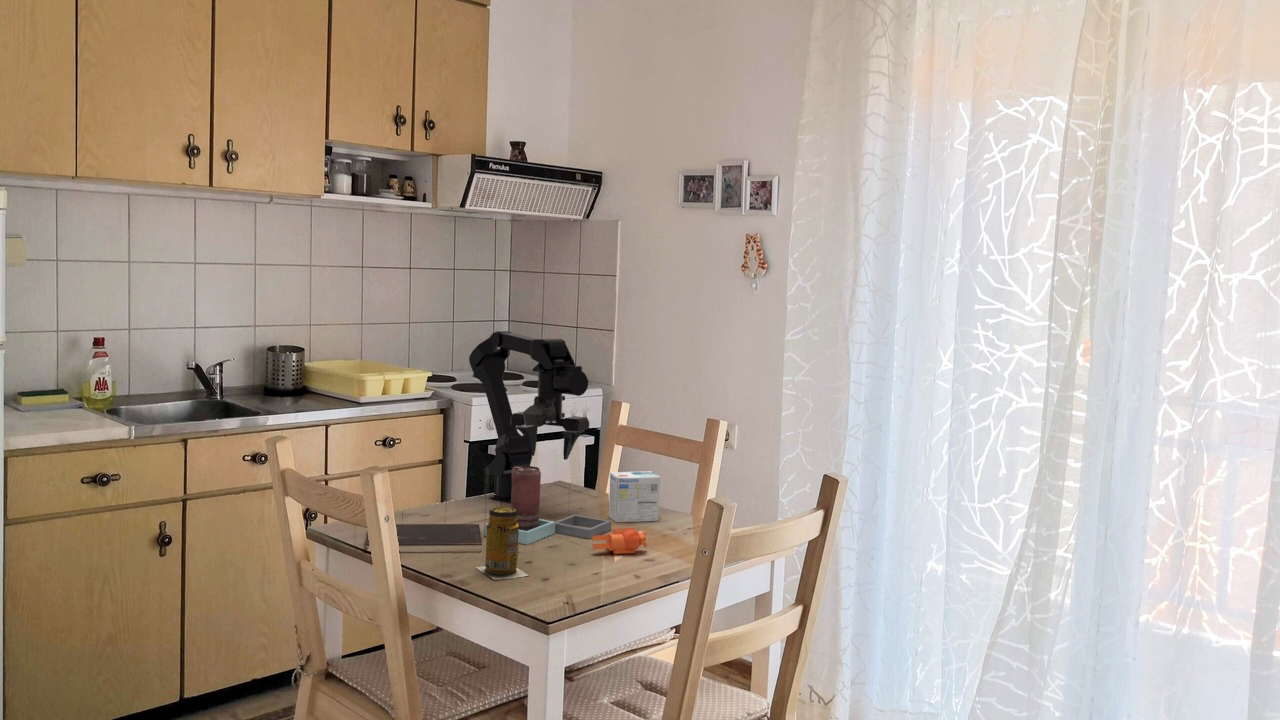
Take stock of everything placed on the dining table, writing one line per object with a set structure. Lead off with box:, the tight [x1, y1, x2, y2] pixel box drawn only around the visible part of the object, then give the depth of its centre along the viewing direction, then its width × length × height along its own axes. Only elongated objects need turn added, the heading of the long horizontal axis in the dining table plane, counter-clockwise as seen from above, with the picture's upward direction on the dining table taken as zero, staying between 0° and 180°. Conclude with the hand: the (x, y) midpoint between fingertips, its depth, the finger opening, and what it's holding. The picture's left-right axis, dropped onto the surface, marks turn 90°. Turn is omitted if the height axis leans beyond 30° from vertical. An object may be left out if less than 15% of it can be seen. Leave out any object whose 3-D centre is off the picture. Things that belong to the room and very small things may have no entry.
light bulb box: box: [608, 470, 661, 523], centre depth 240 cm, size 11×7×11 cm, turn 108°
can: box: [510, 465, 542, 531], centre depth 221 cm, size 6×6×14 cm
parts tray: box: [483, 518, 556, 546], centre depth 221 cm, size 11×11×3 cm
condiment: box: [475, 506, 530, 581], centre depth 194 cm, size 7×8×12 cm
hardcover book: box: [364, 523, 483, 553], centre depth 213 cm, size 16×23×2 cm
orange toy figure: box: [591, 527, 648, 555], centre depth 212 cm, size 5×8×12 cm
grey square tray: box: [555, 513, 612, 540], centre depth 227 cm, size 10×10×2 cm
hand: (548, 457), depth 242 cm, fingers open, 9 cm apart
